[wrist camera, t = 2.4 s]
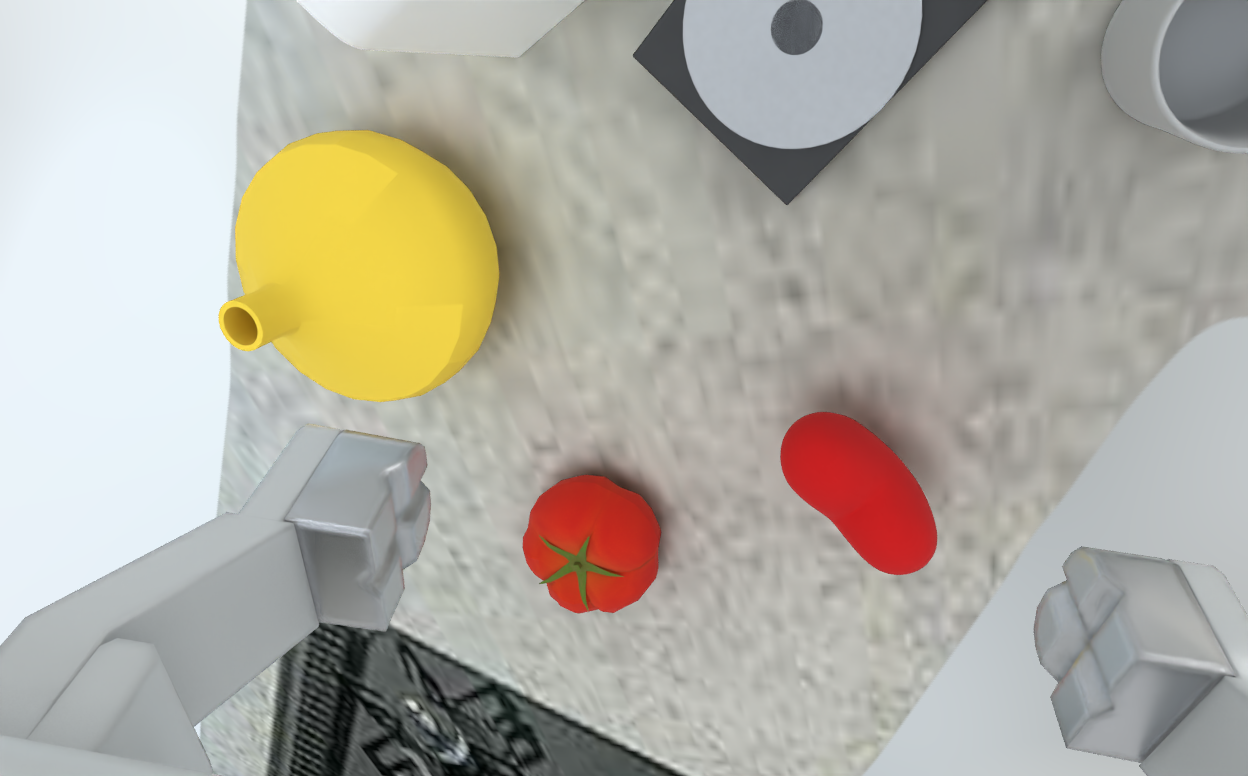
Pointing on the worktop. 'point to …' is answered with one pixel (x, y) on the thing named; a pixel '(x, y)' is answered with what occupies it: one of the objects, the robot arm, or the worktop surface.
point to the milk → (441, 24)
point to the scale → (794, 72)
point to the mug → (1182, 68)
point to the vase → (363, 266)
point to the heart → (860, 490)
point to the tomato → (592, 544)
